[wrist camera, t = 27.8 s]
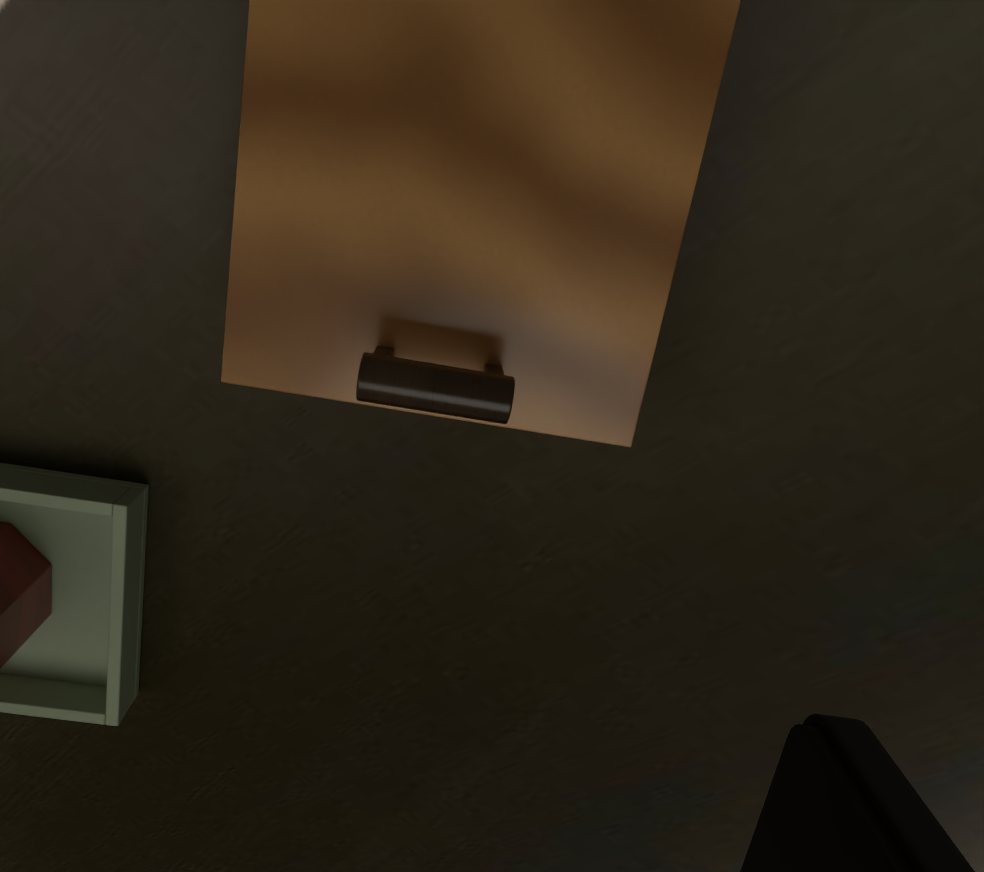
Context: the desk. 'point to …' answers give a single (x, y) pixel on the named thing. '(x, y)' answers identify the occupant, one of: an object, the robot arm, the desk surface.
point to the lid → (467, 202)
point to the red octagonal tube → (21, 590)
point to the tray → (79, 594)
